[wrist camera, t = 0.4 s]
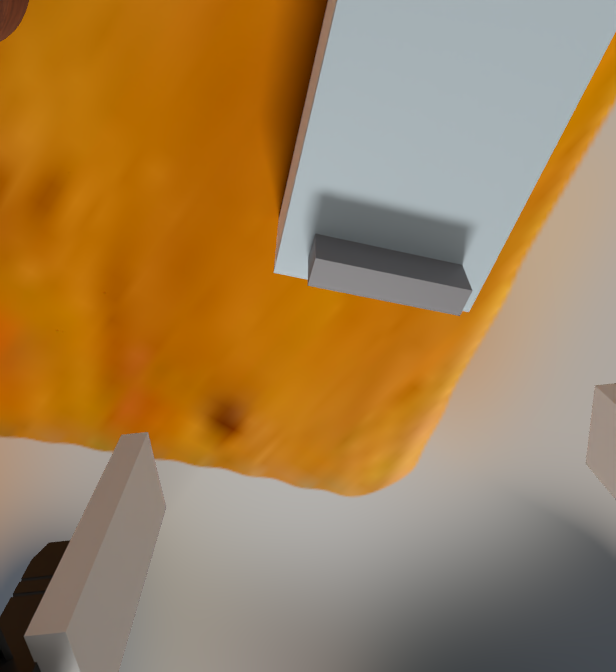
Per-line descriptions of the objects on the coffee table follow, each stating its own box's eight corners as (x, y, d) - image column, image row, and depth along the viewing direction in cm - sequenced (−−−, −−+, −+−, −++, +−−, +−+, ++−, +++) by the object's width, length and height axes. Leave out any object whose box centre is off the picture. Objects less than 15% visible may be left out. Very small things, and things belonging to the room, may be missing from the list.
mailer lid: (359, -97, 25) (364, -95, 23) (632, -14, 27) (669, -2, 25) (274, 267, 38) (271, 298, 35) (467, 307, 40) (478, 339, 37)
